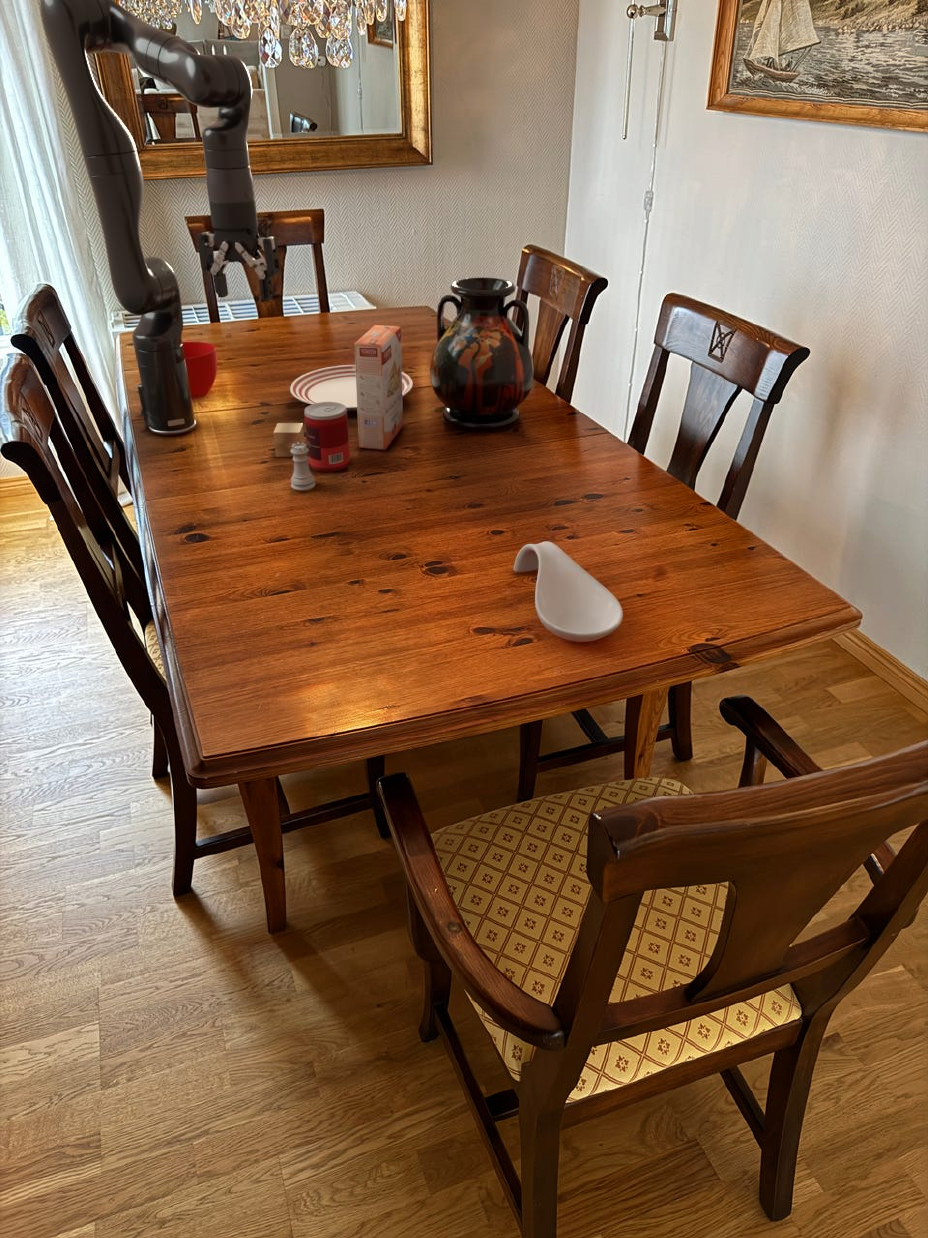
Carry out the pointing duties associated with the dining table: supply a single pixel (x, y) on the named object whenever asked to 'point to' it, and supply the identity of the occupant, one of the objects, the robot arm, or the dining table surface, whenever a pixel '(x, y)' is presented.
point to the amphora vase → (482, 357)
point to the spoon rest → (568, 595)
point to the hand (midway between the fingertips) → (244, 298)
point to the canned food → (327, 436)
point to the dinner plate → (334, 386)
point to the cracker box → (379, 386)
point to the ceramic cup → (200, 366)
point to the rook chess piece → (301, 469)
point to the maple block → (287, 438)
